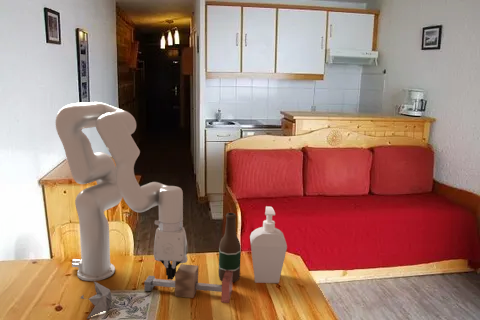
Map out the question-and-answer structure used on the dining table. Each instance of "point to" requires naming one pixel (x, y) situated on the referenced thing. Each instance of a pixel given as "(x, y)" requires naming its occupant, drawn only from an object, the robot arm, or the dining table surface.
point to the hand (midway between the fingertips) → (171, 277)
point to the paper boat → (100, 299)
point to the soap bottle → (268, 250)
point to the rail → (197, 285)
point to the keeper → (186, 280)
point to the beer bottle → (230, 249)
